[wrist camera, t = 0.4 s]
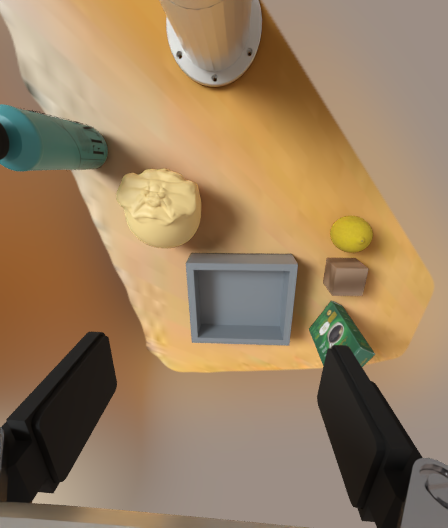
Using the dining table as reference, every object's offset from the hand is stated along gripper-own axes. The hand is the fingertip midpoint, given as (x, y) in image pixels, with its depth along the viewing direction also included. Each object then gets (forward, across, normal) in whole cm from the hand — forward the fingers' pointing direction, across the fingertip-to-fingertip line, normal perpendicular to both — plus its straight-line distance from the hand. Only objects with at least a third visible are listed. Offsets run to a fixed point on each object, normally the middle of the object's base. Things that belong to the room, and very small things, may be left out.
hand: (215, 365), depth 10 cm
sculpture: (+34, +11, -2) cm, 36 cm away
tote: (+34, -2, +15) cm, 38 cm away
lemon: (+34, -18, +1) cm, 39 cm away
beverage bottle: (+34, +23, -11) cm, 43 cm away
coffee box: (+35, -19, +20) cm, 44 cm away
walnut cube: (+35, -20, +9) cm, 41 cm away
